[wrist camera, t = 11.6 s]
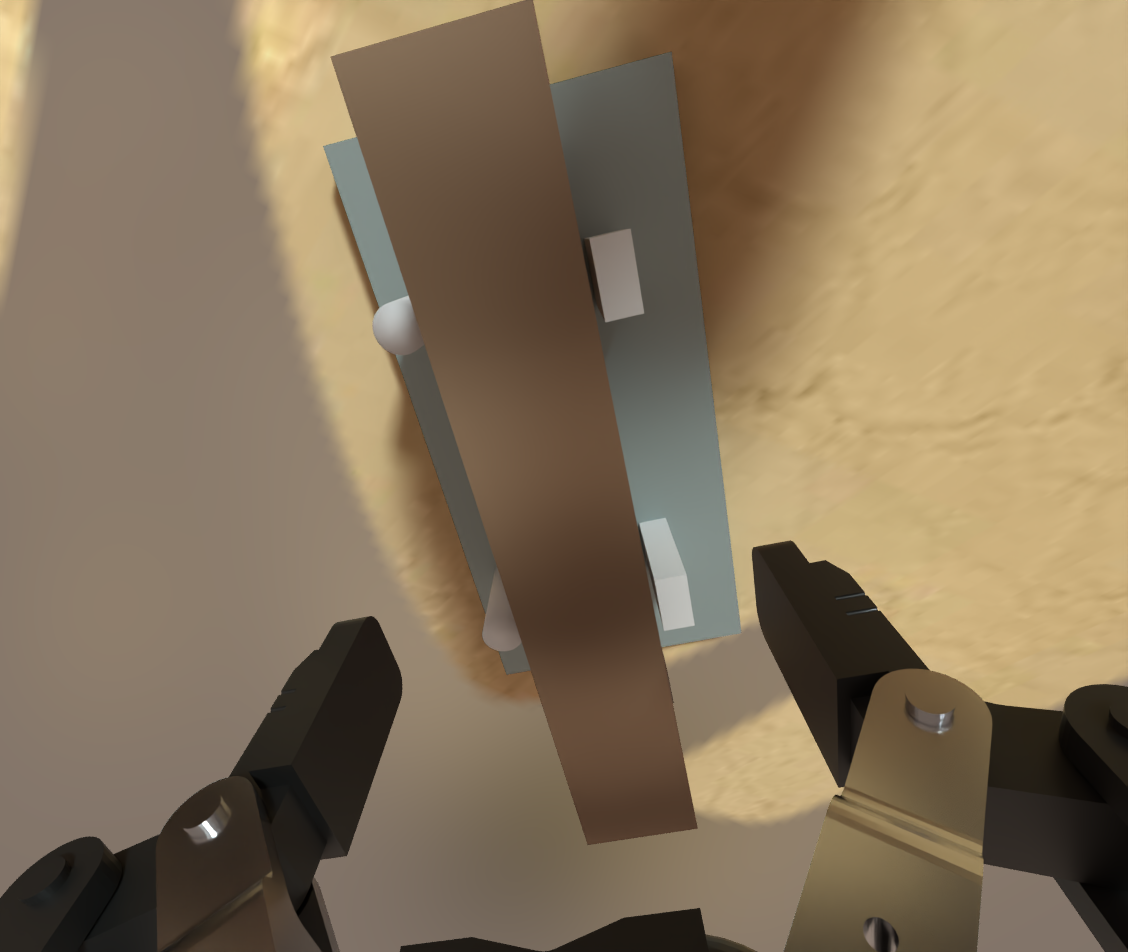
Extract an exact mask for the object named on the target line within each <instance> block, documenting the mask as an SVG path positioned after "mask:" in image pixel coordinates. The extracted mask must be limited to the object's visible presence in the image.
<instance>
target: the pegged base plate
mask: <svg viewBox="0 0 1128 952" xmlns="http://www.w3.org/2000/svg"><path fill="white" fill-rule="evenodd" d="M550 89H551V94H552V99H553V104H554V109H555V114H556V119H557V124H558V129H559V134H560V139H561V144H562V149H563V154H564V159H565V164H566V169H567V174H568V180H569V185H570V190H571V195H572V200H573V205H574V210H575V215H576V220H577V225H578V230H579V235H580V240H581V245H582V250H583V255H584V260H585V265H586V270H587V275H588V280H589V285H590V290H591V295H592V300H593V305H594V310H595V315H596V320H597V325H598V330H599V335H600V340H601V345H602V350H603V355H604V361H605V366H606V371H607V376H608V381H609V386H610V391H611V396H612V401H613V406H614V411H615V416H616V421H617V426H618V431H619V436H620V441H621V446H622V451H623V456H624V461H625V466H626V471H627V476H628V481H629V486H630V491H631V496H632V501H633V506H634V511H635V516H636V521H637V526H638V531H639V536H640V542H641V547H642V552H643V557H644V562H645V567H646V572H647V577H648V582H649V587H650V592H651V597H652V602H653V607H654V612H655V617H656V622H657V627H658V632H659V637H660V642H661V647H666V646H671V645H677V644H683V643H688V642H694V641H700V640H705V639H711V638H716V637H722V636H728V635H733V634H739V633H741V626H740V617H739V609H738V601H737V592H736V584H735V576H734V568H733V559H732V551H731V543H730V534H729V526H728V518H727V509H726V501H725V493H724V484H723V476H722V468H721V459H720V451H719V443H718V434H717V426H716V418H715V409H714V401H713V393H712V384H711V376H710V368H709V359H708V351H707V343H706V334H705V326H704V318H703V309H702V301H701V293H700V284H699V276H698V268H697V259H696V251H695V243H694V235H693V226H692V218H691V210H690V201H689V193H688V185H687V176H686V168H685V160H684V151H683V143H682V135H681V126H680V118H679V110H678V101H677V93H676V85H675V76H674V68H673V60H672V52H668V53H664V54H661V55H657V56H653V57H650V58H646V59H642V60H638V61H635V62H631V63H627V64H624V65H620V66H616V67H613V68H609V69H605V70H602V71H598V72H594V73H591V74H587V75H583V76H580V77H576V78H572V79H569V80H565V81H561V82H558V83H554V84H550ZM323 147H324V150H325V153H326V156H327V159H328V162H329V164H330V167H331V170H332V173H333V176H334V179H335V182H336V185H337V188H338V190H339V193H340V196H341V199H342V202H343V205H344V208H345V211H346V213H347V216H348V219H349V222H350V225H351V228H352V231H353V234H354V237H355V239H356V242H357V245H358V248H359V251H360V254H361V257H362V260H363V262H364V265H365V268H366V271H367V274H368V277H369V280H370V283H371V285H372V288H373V291H374V294H375V297H376V300H377V303H378V306H379V309H378V311H377V312H376V314H375V316H374V319H373V332H374V335H375V338H376V340H377V341H378V343H379V344H380V345H381V346H382V347H383V348H384V349H385V350H387V351H388V352H390V353H393V354H395V355H396V358H397V360H398V363H399V366H400V369H401V372H402V375H403V378H404V381H405V383H406V386H407V389H408V392H409V395H410V398H411V401H412V404H413V406H414V409H415V412H416V415H417V418H418V421H419V424H420V427H421V430H422V432H423V435H424V438H425V441H426V444H427V447H428V450H429V453H430V455H431V458H432V461H433V464H434V467H435V470H436V473H437V476H438V479H439V481H440V484H441V487H442V490H443V493H444V496H445V499H446V502H447V504H448V507H449V510H450V513H451V516H452V519H453V522H454V525H455V527H456V530H457V533H458V536H459V539H460V542H461V545H462V548H463V551H464V553H465V556H466V559H467V562H468V565H469V568H470V571H471V574H472V576H473V579H474V582H475V585H476V588H477V591H478V594H479V597H480V600H481V602H482V605H483V608H484V611H485V614H486V616H485V621H484V626H483V631H482V637H483V640H484V642H485V643H486V645H488V646H489V647H490V648H492V649H494V650H497V651H499V654H500V657H501V660H502V663H503V666H504V669H505V672H506V674H507V675H508V674H513V673H519V672H525V671H530V670H531V669H530V666H529V663H528V660H527V657H526V654H525V651H524V648H523V645H522V642H521V639H520V636H519V632H518V629H517V626H516V623H515V620H514V617H513V614H512V611H511V608H510V605H509V602H508V599H507V596H506V593H505V590H504V587H503V583H502V580H501V577H500V574H499V571H498V568H497V565H496V562H495V559H494V556H493V553H492V550H491V547H490V544H489V541H488V538H487V534H486V531H485V528H484V525H483V522H482V519H481V516H480V513H479V510H478V507H477V504H476V501H475V498H474V495H473V492H472V489H471V485H470V482H469V479H468V476H467V473H466V470H465V467H464V464H463V461H462V458H461V455H460V452H459V449H458V446H457V443H456V439H455V436H454V433H453V430H452V427H451V424H450V421H449V418H448V415H447V412H446V409H445V406H444V403H443V400H442V397H441V394H440V390H439V387H438V384H437V381H436V378H435V375H434V372H433V369H432V366H431V363H430V360H429V357H428V354H427V351H426V348H425V345H424V341H423V338H422V335H421V332H420V329H419V326H418V323H417V320H416V317H415V314H414V311H413V308H412V305H411V302H410V299H409V295H408V292H407V289H406V286H405V283H404V280H403V277H402V274H401V271H400V268H399V265H398V262H397V259H396V256H395V253H394V250H393V246H392V243H391V240H390V237H389V234H388V231H387V228H386V225H385V222H384V219H383V216H382V213H381V210H380V207H379V204H378V201H377V197H376V194H375V191H374V188H373V185H372V182H371V179H370V176H369V173H368V170H367V167H366V164H365V161H364V158H363V155H362V152H361V148H360V145H359V142H358V139H357V137H355V138H352V139H348V140H344V141H341V142H337V143H333V144H330V145H326V146H323Z"/></svg>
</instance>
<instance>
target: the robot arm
mask: <svg viewBox="0 0 1128 952" xmlns="http://www.w3.org/2000/svg"><path fill="white" fill-rule="evenodd" d="M752 561H753V572H754V584H755V595H756V606H757V613H758V618H759V622H760V626H761V629H762V632H763V635H764V637H765V640H766V642H767V644H768V646H769V648H770V650H771V652H772V654H773V656H774V658H775V660H776V662H777V664H778V666H779V668H780V670H781V672H782V674H783V676H784V678H785V680H786V682H787V684H788V686H789V688H790V690H791V692H792V694H793V696H794V698H795V701H796V703H797V705H798V707H799V709H800V711H801V713H802V715H803V717H804V719H805V721H806V723H807V725H808V727H809V729H810V731H811V733H812V735H813V737H814V739H815V741H816V743H817V745H818V747H819V749H820V751H821V753H822V755H823V757H824V759H825V761H826V763H827V765H828V767H829V769H830V771H831V773H832V775H833V777H834V779H835V781H836V783H837V785H838V787H844V790H843V792H842V795H841V796H838V795H835V796H834V797H833V798H832V800H831V802H830V804H829V807H828V810H827V813H826V816H825V819H824V822H823V825H822V829H821V832H820V835H819V839H818V842H817V845H816V848H815V851H814V855H813V858H812V861H811V864H810V868H809V871H808V874H807V877H806V881H805V884H804V887H803V890H802V893H801V897H800V900H799V903H798V906H797V910H796V913H795V916H794V919H793V923H792V926H791V929H790V932H789V936H788V939H787V942H786V945H785V949H784V952H977V945H978V932H979V919H980V905H981V892H982V880H983V864H988V865H993V866H998V867H1003V868H1008V869H1013V870H1019V871H1024V872H1029V873H1035V874H1039V875H1045V876H1050V877H1054V879H1055V880H1056V882H1057V883H1058V885H1059V886H1060V888H1061V889H1062V890H1063V892H1064V893H1065V895H1066V896H1067V898H1068V899H1069V900H1070V902H1071V903H1072V905H1073V906H1074V908H1075V909H1076V911H1077V912H1078V914H1079V915H1080V916H1081V918H1082V919H1083V921H1084V922H1085V924H1086V925H1087V926H1088V928H1089V929H1090V931H1091V932H1092V934H1093V935H1094V937H1095V938H1096V940H1097V941H1098V942H1099V944H1100V945H1101V947H1102V948H1103V950H1104V951H1105V952H1128V687H1125V686H1119V685H1108V684H1099V685H1089V686H1084V687H1081V688H1079V689H1076V690H1075V691H1073V692H1072V693H1070V695H1069V696H1068V697H1067V699H1066V701H1065V704H1064V709H1063V711H1054V710H1044V709H1034V708H1024V707H1014V706H1005V705H998V704H993V703H989V702H985V701H983V700H982V699H981V697H980V696H979V695H978V694H977V693H975V692H974V691H973V690H972V689H971V688H969V687H968V686H966V685H965V684H963V683H962V682H960V681H958V680H956V679H954V678H952V677H949V676H947V675H944V674H941V673H938V672H934V671H930V670H929V669H928V668H927V666H926V665H925V664H924V663H923V662H922V660H921V659H920V658H919V657H918V656H917V654H916V653H915V652H914V651H913V650H912V648H911V647H910V646H909V645H908V644H907V642H906V641H905V640H904V639H903V638H902V636H901V635H900V634H899V633H898V632H897V630H896V629H895V628H894V627H893V626H892V624H891V623H890V622H889V621H888V620H887V618H886V617H885V616H884V615H883V614H882V612H881V611H878V610H877V606H876V605H875V604H874V603H873V602H872V600H871V599H870V598H869V597H868V596H865V593H864V591H863V590H862V588H861V587H860V586H859V585H858V584H857V582H856V581H855V580H854V579H853V578H852V576H851V575H850V574H849V573H847V572H845V571H844V570H842V569H840V568H838V567H836V566H835V565H833V564H831V563H829V562H828V561H826V560H825V561H819V562H813V563H809V562H808V561H807V559H806V558H805V557H804V555H803V554H802V553H801V551H800V550H799V549H798V547H797V546H796V544H795V543H794V542H793V541H785V542H780V543H774V544H769V545H763V546H758V547H754V548H753V550H752ZM281 692H282V694H281V695H279V696H278V697H277V699H276V700H275V702H274V704H273V705H272V707H271V713H268V714H267V715H266V717H265V719H264V720H263V722H262V723H261V725H260V727H259V728H258V730H257V732H256V733H255V735H254V737H253V738H252V740H251V741H250V743H249V745H248V746H247V748H246V750H245V751H244V753H243V755H242V756H241V758H240V760H239V761H238V763H237V764H236V766H235V768H234V769H233V771H232V773H231V774H230V776H229V777H228V778H224V779H220V780H218V781H216V782H213V783H211V784H209V785H207V786H206V787H204V788H202V789H201V790H199V791H198V792H196V793H195V794H194V795H193V796H191V797H190V798H189V799H187V800H186V801H185V802H184V803H183V804H182V805H181V806H180V807H179V808H178V809H177V810H176V811H175V812H174V813H173V814H172V816H171V817H170V818H169V820H168V821H167V823H166V824H165V826H164V827H163V829H162V831H161V833H160V834H159V835H157V836H154V837H152V838H150V839H147V840H145V841H143V842H141V843H138V844H136V845H134V846H132V847H129V848H127V849H125V850H122V851H120V852H118V853H115V854H112V852H111V851H110V850H109V849H108V848H107V847H106V845H105V844H104V843H103V842H102V841H101V840H100V839H99V838H97V837H83V838H79V839H76V840H73V841H71V842H69V843H66V844H64V845H62V846H60V847H58V848H57V849H55V850H53V851H52V852H50V853H48V854H47V855H46V856H44V857H43V858H41V859H40V860H38V861H37V862H36V863H35V864H33V865H32V866H31V867H30V868H29V869H27V870H26V871H25V872H24V873H23V874H22V875H21V876H20V877H19V878H18V879H17V880H16V881H15V882H14V883H13V884H12V885H11V886H10V887H9V888H8V890H7V891H6V892H5V893H4V894H3V896H2V897H1V898H0V952H340V951H339V948H338V944H337V941H336V938H335V935H334V931H333V928H332V925H331V922H330V918H329V915H328V912H327V909H326V905H325V902H324V899H323V896H322V893H321V890H320V887H319V884H318V882H317V881H316V879H315V878H314V875H315V872H316V869H317V867H318V864H319V862H320V860H322V859H329V858H336V857H343V856H347V854H348V851H349V848H350V845H351V843H352V840H353V837H354V833H355V831H356V828H357V825H358V822H359V819H360V816H361V813H362V811H363V808H364V805H365V802H366V799H367V796H368V793H369V790H370V787H371V784H372V782H373V778H374V776H375V773H376V769H377V767H378V764H379V761H380V758H381V756H382V753H383V750H384V747H385V744H386V741H387V738H388V735H389V732H390V729H391V726H392V724H393V721H394V718H395V715H396V712H397V709H398V706H399V703H400V700H401V696H402V677H401V673H400V670H399V667H398V665H397V662H396V660H395V658H394V656H393V654H392V651H391V649H390V647H389V644H388V642H387V640H386V638H385V636H384V633H383V631H382V629H381V627H380V625H379V623H378V621H377V620H376V619H375V618H374V617H372V616H369V617H363V618H358V619H352V620H347V621H342V622H337V623H335V624H334V625H333V626H332V628H331V630H330V631H329V633H328V635H327V637H326V639H325V640H324V642H323V644H322V645H321V647H320V649H319V650H314V651H313V652H312V653H311V654H310V655H309V656H308V657H307V658H306V659H305V660H304V661H303V662H302V663H301V664H300V665H299V666H298V667H297V668H296V669H295V670H294V671H293V673H292V674H291V676H290V677H289V679H288V681H287V682H286V684H285V686H284V687H283V689H282V691H281ZM400 952H542V951H535V950H530V949H526V948H521V947H516V946H511V945H507V944H501V943H497V942H492V941H488V940H483V939H478V938H473V937H470V938H462V939H454V940H446V941H438V942H430V943H422V944H415V945H407V946H401V949H400ZM545 952H757V951H755V950H753V949H751V948H749V947H746V946H744V945H742V944H739V943H736V942H733V941H731V940H728V939H725V938H721V937H716V936H710V935H706V934H705V930H704V925H703V920H702V915H701V910H700V908H697V909H689V910H681V911H673V912H666V913H658V914H651V915H643V916H634V917H626V918H623V919H620V920H618V921H616V922H614V923H611V924H609V925H607V926H605V927H602V928H600V929H598V930H596V931H594V932H591V933H589V934H587V935H585V936H583V937H580V938H578V939H576V940H574V941H572V942H569V943H567V944H565V945H563V946H560V947H558V948H556V949H554V950H551V951H545Z"/></svg>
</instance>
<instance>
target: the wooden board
mask: <svg viewBox="0 0 1128 952" xmlns="http://www.w3.org/2000/svg"><path fill="white" fill-rule="evenodd" d="M331 60H332V63H333V66H334V69H335V72H336V75H337V78H338V81H339V84H340V87H341V90H342V93H343V96H344V99H345V102H346V106H347V109H348V112H349V115H350V118H351V121H352V124H353V127H354V130H355V133H356V136H357V139H358V142H359V145H360V148H361V152H362V155H363V158H364V161H365V164H366V167H367V170H368V173H369V176H370V179H371V182H372V185H373V188H374V191H375V194H376V197H377V201H378V204H379V207H380V210H381V213H382V216H383V219H384V222H385V225H386V228H387V231H388V234H389V237H390V240H391V243H392V246H393V250H394V253H395V256H396V259H397V262H398V265H399V268H400V271H401V274H402V277H403V280H404V283H405V286H406V289H407V292H408V295H409V299H410V302H411V305H412V308H413V311H414V314H415V317H416V320H417V323H418V326H419V329H420V332H421V335H422V338H423V341H424V345H425V348H426V351H427V354H428V357H429V360H430V363H431V366H432V369H433V372H434V375H435V378H436V381H437V384H438V387H439V390H440V394H441V397H442V400H443V403H444V406H445V409H446V412H447V415H448V418H449V421H450V424H451V427H452V430H453V433H454V436H455V439H456V443H457V446H458V449H459V452H460V455H461V458H462V461H463V464H464V467H465V470H466V473H467V476H468V479H469V482H470V485H471V489H472V492H473V495H474V498H475V501H476V504H477V507H478V510H479V513H480V516H481V519H482V522H483V525H484V528H485V531H486V534H487V538H488V541H489V544H490V547H491V550H492V553H493V556H494V559H495V562H496V565H497V568H498V571H499V574H500V577H501V580H502V583H503V587H504V590H505V593H506V596H507V599H508V602H509V605H510V608H511V611H512V614H513V617H514V620H515V623H516V626H517V629H518V632H519V636H520V639H521V642H522V645H523V648H524V651H525V654H526V657H527V660H528V663H529V666H530V669H531V672H532V675H533V678H534V682H535V685H536V688H537V691H538V694H539V697H540V700H541V703H542V706H543V709H544V712H545V715H546V718H547V721H548V724H549V727H550V730H551V733H552V736H553V740H554V743H555V746H556V749H557V752H558V755H559V758H560V761H561V764H562V767H563V770H564V773H565V776H566V780H567V782H568V786H569V789H570V791H571V795H572V798H573V801H574V804H575V807H576V810H577V813H578V816H579V819H580V822H581V825H582V829H583V832H584V835H585V837H586V841H587V844H588V845H591V844H597V843H604V842H611V841H617V840H624V839H631V838H637V837H644V836H650V835H658V834H664V833H671V832H677V831H684V830H691V829H697V823H696V818H695V813H694V808H693V803H692V798H691V793H690V788H689V783H688V778H687V773H686V768H685V763H684V758H683V753H682V748H681V743H680V738H679V733H678V728H677V723H676V718H675V712H674V708H673V697H672V692H671V688H670V682H669V677H668V672H667V668H666V664H665V660H664V655H663V651H662V647H661V642H660V637H659V632H658V627H657V622H656V617H655V612H654V607H653V602H652V597H651V592H650V587H649V582H648V577H647V572H646V567H645V562H644V557H643V552H642V547H641V542H640V536H639V531H638V526H637V521H636V516H635V511H634V506H633V501H632V496H631V491H630V486H629V481H628V476H627V471H626V466H625V461H624V456H623V451H622V446H621V441H620V436H619V431H618V426H617V421H616V416H615V411H614V406H613V401H612V396H611V391H610V386H609V381H608V376H607V371H606V366H605V361H604V355H603V350H602V345H601V340H600V335H599V330H598V325H597V320H596V315H595V310H594V305H593V300H592V295H591V290H590V285H589V280H588V275H587V270H586V265H585V260H584V255H583V250H582V245H581V240H580V235H579V230H578V225H577V220H576V215H575V210H574V205H573V200H572V195H571V190H570V185H569V180H568V174H567V169H566V164H565V159H564V154H563V149H562V144H561V139H560V134H559V129H558V124H557V119H556V114H555V109H554V104H553V99H552V94H551V89H550V84H549V79H548V74H547V69H546V64H545V59H544V54H543V49H542V44H541V39H540V34H539V29H538V24H537V19H536V14H535V9H534V4H533V0H524V1H521V2H517V3H514V4H510V5H507V6H503V7H500V8H497V9H493V10H490V11H486V12H483V13H479V14H476V15H472V16H469V17H466V18H462V19H459V20H455V21H452V22H448V23H445V24H441V25H438V26H435V27H431V28H428V29H424V30H421V31H417V32H414V33H410V34H407V35H404V36H400V37H397V38H393V39H390V40H386V41H383V42H379V43H376V44H373V45H369V46H366V47H362V48H359V49H355V50H352V51H348V52H345V53H342V54H338V55H335V56H331Z"/></svg>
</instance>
